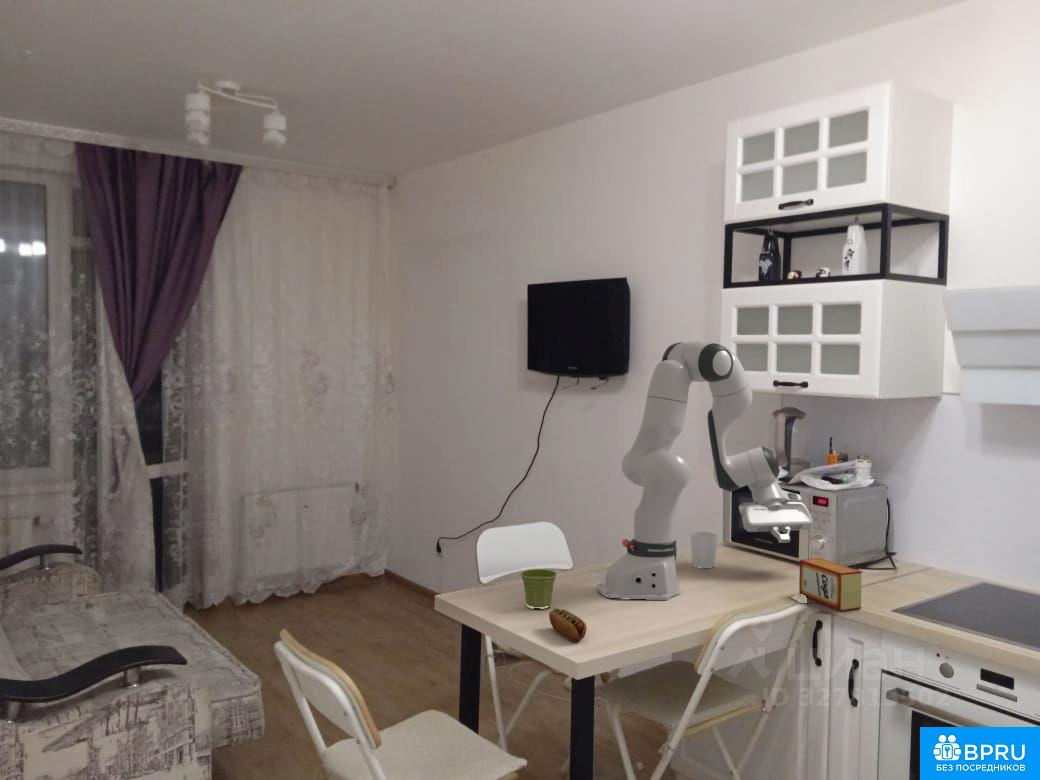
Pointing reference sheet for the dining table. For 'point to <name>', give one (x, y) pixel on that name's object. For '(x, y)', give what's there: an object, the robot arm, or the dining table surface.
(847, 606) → the baking soda box
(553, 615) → the hot dog
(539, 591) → the plant pot
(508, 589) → the dining table surface
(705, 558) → the white cup
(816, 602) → the mat
